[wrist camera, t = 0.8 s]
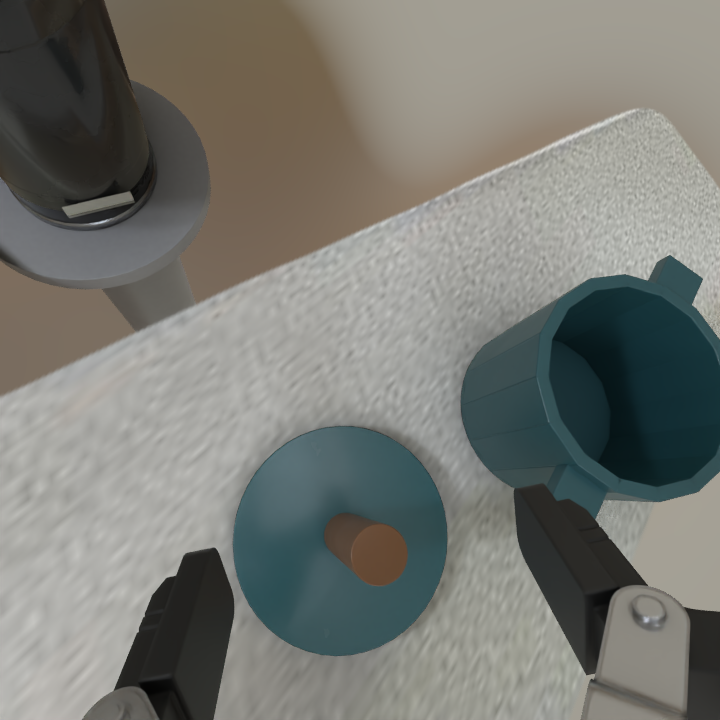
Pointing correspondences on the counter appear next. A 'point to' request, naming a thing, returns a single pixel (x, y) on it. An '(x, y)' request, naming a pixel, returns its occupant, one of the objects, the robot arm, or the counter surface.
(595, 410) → the cooking pot
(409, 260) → the counter surface
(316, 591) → the lid
